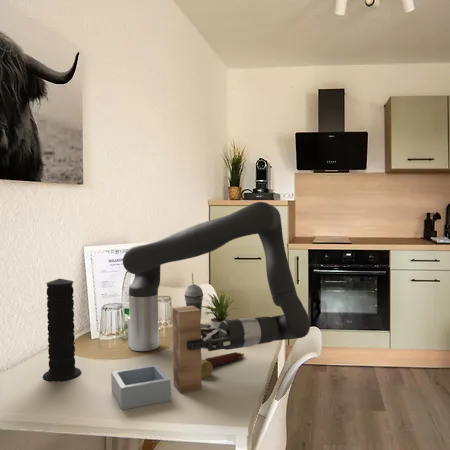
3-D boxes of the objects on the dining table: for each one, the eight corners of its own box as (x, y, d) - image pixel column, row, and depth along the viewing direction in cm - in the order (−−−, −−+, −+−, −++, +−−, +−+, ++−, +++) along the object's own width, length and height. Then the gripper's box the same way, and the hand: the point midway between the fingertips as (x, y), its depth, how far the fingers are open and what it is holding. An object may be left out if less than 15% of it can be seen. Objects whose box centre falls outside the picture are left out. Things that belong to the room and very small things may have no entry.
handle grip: (88, 374, 127) (71, 365, 135) (86, 278, 126) (68, 274, 133) (52, 384, 120) (36, 374, 128) (49, 282, 119) (33, 278, 126)
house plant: (203, 330, 171) (203, 286, 170) (241, 331, 169) (240, 286, 168) (195, 341, 157) (195, 293, 156) (236, 343, 155) (236, 294, 154)
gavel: (232, 343, 145) (255, 351, 137) (232, 358, 145) (255, 366, 137) (177, 354, 130) (200, 363, 123) (177, 370, 130) (199, 380, 123)
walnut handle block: (173, 385, 119) (172, 307, 118) (193, 381, 121) (192, 305, 120) (180, 393, 114) (179, 312, 113) (201, 389, 116) (200, 309, 115)
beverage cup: (189, 328, 173) (188, 275, 172) (181, 324, 180) (181, 272, 179) (207, 326, 176) (206, 273, 176) (199, 322, 183) (198, 271, 182)
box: (111, 391, 116) (111, 371, 115) (157, 383, 120) (156, 364, 120) (121, 410, 105) (121, 388, 105) (170, 400, 110) (170, 379, 110)
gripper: (228, 313, 130) (172, 319, 123) (252, 325, 117) (191, 333, 110) (228, 340, 130) (172, 348, 123) (252, 354, 117) (191, 364, 110)
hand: (181, 341), depth 117 cm, fingers open, 8 cm apart
